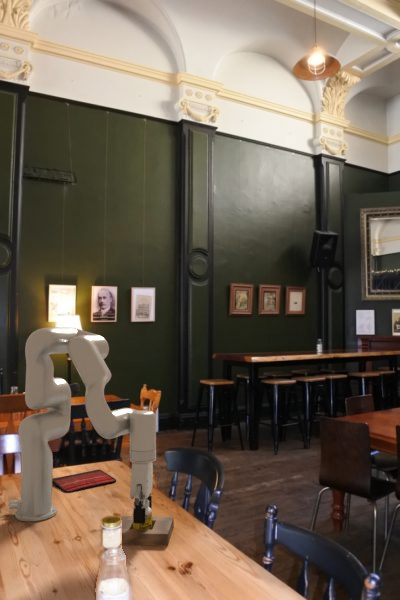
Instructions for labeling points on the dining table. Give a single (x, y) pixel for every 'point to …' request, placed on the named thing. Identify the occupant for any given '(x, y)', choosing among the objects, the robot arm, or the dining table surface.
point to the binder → (83, 481)
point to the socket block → (147, 531)
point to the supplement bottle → (147, 518)
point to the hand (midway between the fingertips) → (142, 516)
